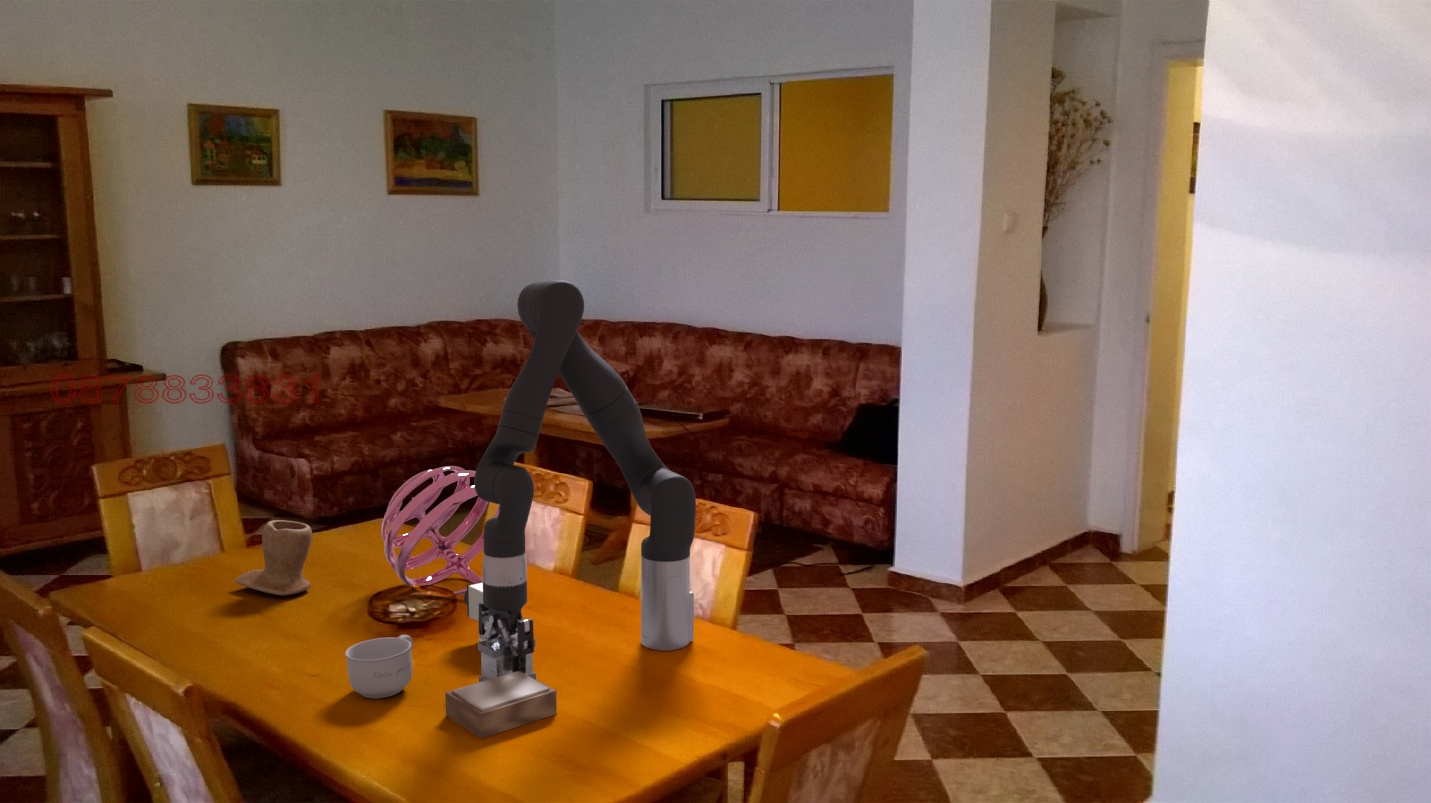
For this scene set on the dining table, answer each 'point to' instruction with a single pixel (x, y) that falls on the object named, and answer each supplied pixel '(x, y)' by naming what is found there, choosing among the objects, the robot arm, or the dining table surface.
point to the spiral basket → (433, 527)
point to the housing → (500, 659)
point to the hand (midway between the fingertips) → (506, 668)
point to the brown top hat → (281, 559)
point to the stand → (500, 704)
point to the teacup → (380, 666)
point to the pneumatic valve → (474, 602)
